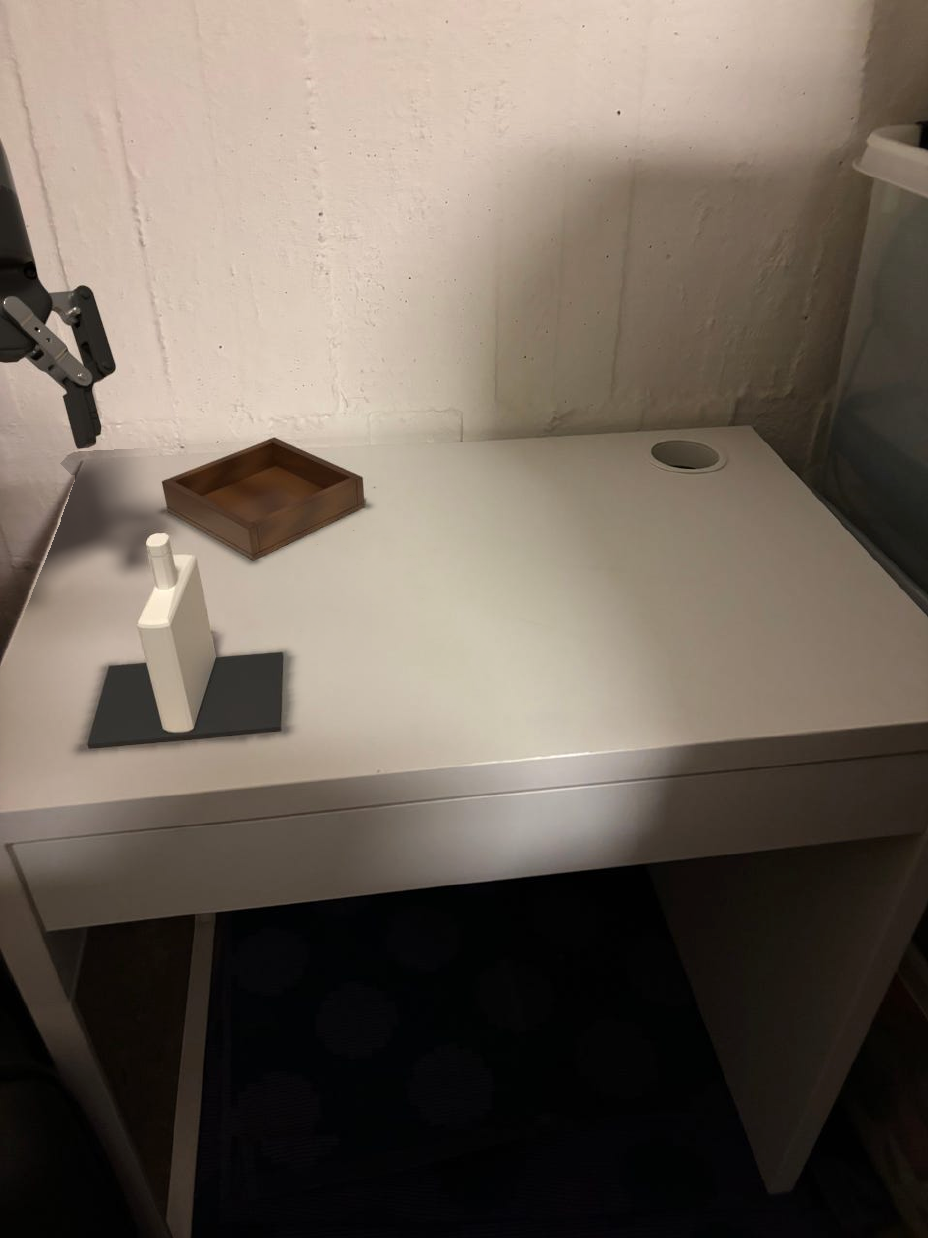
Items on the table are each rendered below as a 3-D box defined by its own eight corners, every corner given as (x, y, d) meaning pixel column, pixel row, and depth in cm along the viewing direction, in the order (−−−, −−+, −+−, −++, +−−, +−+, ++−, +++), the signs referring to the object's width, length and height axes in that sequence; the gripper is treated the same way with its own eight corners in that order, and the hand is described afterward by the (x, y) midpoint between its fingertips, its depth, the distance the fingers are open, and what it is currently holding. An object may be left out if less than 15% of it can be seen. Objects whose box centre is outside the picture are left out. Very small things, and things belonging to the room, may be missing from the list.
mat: (88, 748, 58) (86, 743, 58) (110, 670, 65) (108, 665, 65) (280, 731, 60) (280, 726, 60) (283, 656, 66) (282, 651, 66)
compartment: (253, 560, 77) (248, 529, 75) (167, 510, 84) (161, 481, 82) (364, 506, 84) (363, 476, 83) (277, 465, 91) (274, 436, 90)
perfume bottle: (189, 657, 65) (156, 506, 58) (217, 656, 66) (188, 506, 59) (161, 734, 59) (121, 575, 52) (193, 733, 59) (157, 575, 52)
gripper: (-173, 166, 51) (-88, 460, 53) (85, 180, 60) (148, 431, 62) (-188, 215, 56) (-111, 479, 59) (50, 222, 65) (108, 450, 68)
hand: (22, 454), depth 60 cm, fingers open, 8 cm apart
